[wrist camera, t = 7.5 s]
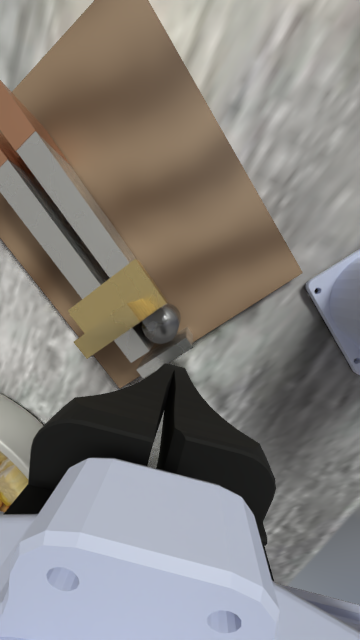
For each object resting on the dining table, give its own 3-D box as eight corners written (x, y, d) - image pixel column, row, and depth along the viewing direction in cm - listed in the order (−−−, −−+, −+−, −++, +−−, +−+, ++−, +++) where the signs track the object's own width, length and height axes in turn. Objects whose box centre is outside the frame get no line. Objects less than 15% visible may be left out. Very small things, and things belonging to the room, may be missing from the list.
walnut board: (295, 273, 15) (302, 272, 14) (123, 382, 18) (119, 388, 17) (132, -10, 12) (127, -37, 11) (-40, 174, 15) (-56, 167, 14)
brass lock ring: (172, 298, 14) (158, 309, 8) (113, 339, 15) (62, 375, 9) (148, 264, 13) (116, 250, 8) (89, 308, 14) (20, 325, 8)
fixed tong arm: (192, 334, 15) (192, 347, 12) (152, 360, 16) (142, 379, 13) (48, 125, 13) (1, 73, 10) (8, 166, 14) (-48, 130, 10)
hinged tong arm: (186, 321, 15) (185, 331, 12) (162, 337, 15) (156, 350, 12) (47, 122, 13) (2, 72, 10) (23, 146, 13) (-27, 105, 10)
